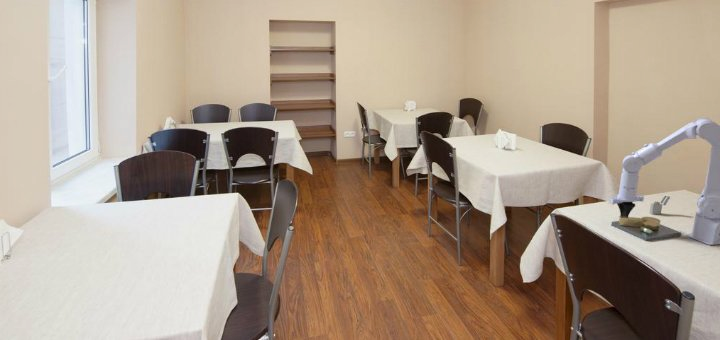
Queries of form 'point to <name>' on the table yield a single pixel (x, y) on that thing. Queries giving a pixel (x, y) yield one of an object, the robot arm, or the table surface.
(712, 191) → the robot arm
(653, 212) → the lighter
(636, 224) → the gold elongated piece
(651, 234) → the base plate
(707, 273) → the table surface
